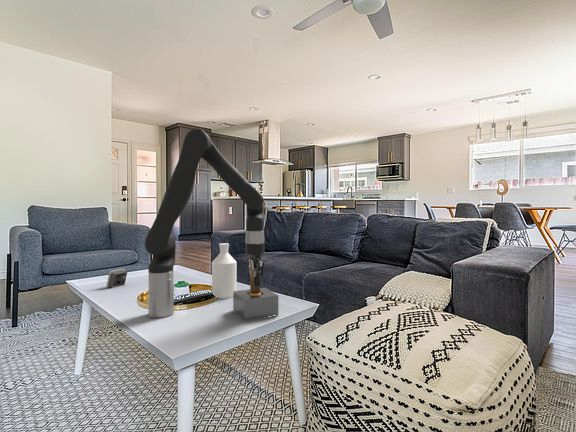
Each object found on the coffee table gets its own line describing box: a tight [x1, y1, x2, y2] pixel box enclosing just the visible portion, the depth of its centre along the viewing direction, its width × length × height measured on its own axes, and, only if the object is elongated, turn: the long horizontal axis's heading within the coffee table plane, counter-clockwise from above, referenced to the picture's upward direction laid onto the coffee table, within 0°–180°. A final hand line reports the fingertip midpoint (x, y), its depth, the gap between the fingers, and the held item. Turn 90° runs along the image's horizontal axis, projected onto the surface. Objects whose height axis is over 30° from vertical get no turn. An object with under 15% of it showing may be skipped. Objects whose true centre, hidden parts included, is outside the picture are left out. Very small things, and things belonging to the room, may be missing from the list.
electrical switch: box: [106, 268, 128, 289], centre depth 176 cm, size 9×5×9 cm, turn 159°
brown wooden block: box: [249, 263, 261, 294], centre depth 130 cm, size 4×4×12 cm
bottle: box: [211, 242, 238, 299], centre depth 157 cm, size 12×12×25 cm
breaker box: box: [232, 287, 279, 322], centre depth 130 cm, size 14×14×8 cm
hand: (255, 284), depth 130 cm, fingers closed on brown wooden block, 4 cm apart
